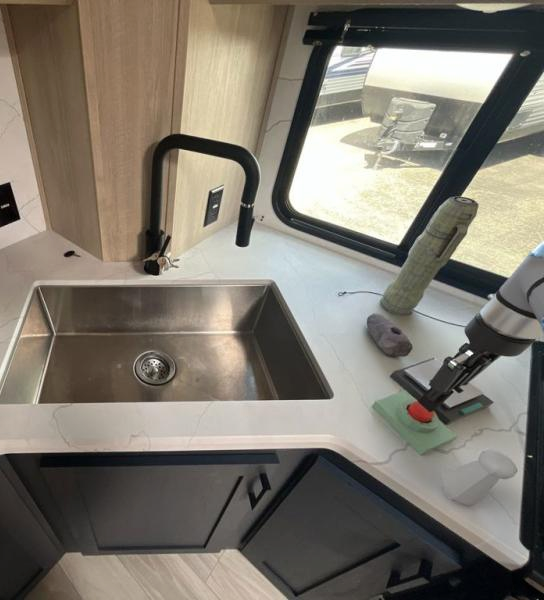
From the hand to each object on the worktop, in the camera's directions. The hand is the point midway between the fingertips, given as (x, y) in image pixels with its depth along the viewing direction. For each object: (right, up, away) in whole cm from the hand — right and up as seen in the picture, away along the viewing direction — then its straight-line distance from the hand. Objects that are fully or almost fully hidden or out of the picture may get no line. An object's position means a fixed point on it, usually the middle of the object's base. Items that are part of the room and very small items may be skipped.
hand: (426, 405), depth 67 cm
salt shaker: (-1, -14, -6) cm, 16 cm away
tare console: (0, -5, +4) cm, 7 cm away
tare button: (0, -2, +2) cm, 3 cm away
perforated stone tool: (+7, +10, +23) cm, 27 cm away
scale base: (+12, 0, +11) cm, 16 cm away
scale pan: (+12, +2, +9) cm, 15 cm away
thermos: (+21, +20, +35) cm, 46 cm away
